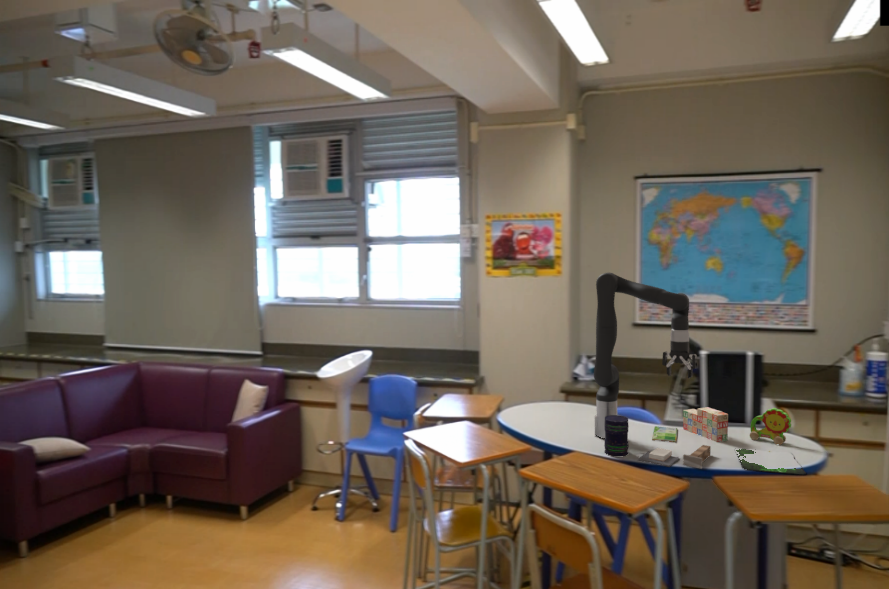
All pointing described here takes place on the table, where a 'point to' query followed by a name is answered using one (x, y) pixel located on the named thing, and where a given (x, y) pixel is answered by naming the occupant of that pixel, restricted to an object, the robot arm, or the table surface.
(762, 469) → the mouse mat
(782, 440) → the toy lion
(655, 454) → the tile
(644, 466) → the table surface
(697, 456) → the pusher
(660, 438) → the green number board
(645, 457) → the mat
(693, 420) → the stack of blocks
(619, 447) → the storage jar
